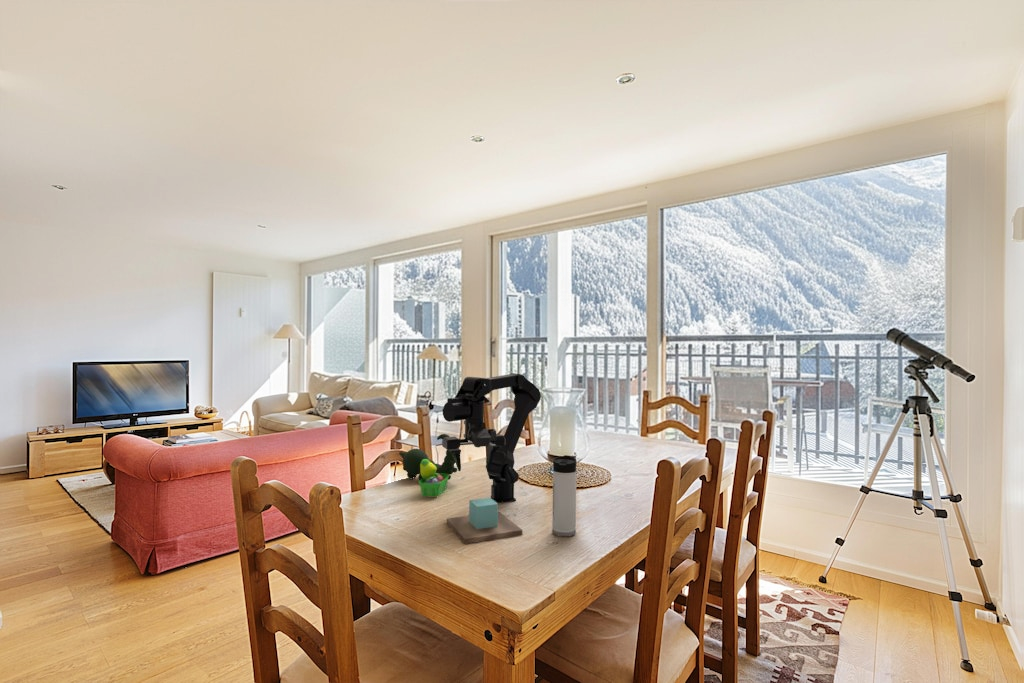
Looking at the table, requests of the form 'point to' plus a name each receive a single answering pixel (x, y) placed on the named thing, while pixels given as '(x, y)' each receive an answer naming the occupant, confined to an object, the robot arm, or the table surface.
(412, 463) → the toy figurine
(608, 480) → the table surface
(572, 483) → the travel mug
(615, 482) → the table surface
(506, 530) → the walnut board
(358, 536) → the table surface
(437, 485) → the fruit basket
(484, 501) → the teal cube
